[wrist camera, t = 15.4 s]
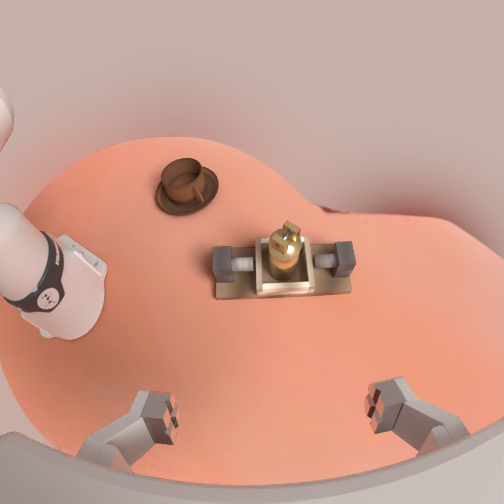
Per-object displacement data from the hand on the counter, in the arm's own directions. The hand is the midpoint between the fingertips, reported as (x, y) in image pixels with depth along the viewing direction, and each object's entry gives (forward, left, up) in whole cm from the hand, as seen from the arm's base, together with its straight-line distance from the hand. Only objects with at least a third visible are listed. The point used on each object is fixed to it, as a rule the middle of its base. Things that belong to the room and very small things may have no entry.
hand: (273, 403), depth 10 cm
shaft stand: (-10, +16, -28) cm, 34 cm away
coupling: (-10, +16, -27) cm, 33 cm away
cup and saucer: (-33, +18, -28) cm, 47 cm away
